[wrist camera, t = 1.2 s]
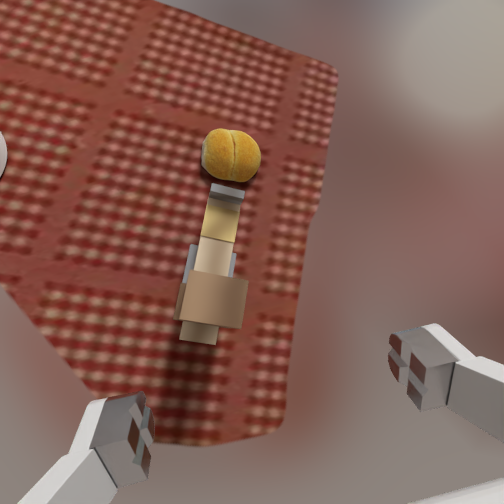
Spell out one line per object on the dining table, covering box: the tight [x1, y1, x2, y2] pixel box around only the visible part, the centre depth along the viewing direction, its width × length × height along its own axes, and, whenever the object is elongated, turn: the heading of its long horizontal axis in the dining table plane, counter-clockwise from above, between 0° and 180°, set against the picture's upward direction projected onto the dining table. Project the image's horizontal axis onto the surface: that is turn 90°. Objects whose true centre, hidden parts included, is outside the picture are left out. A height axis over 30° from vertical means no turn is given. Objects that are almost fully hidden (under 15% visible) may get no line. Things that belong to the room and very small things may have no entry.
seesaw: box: [179, 183, 245, 345], centre depth 38 cm, size 6×18×9 cm, turn 171°
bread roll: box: [201, 129, 261, 182], centre depth 46 cm, size 8×9×4 cm
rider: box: [173, 270, 249, 329], centre depth 31 cm, size 6×4×13 cm, turn 81°
